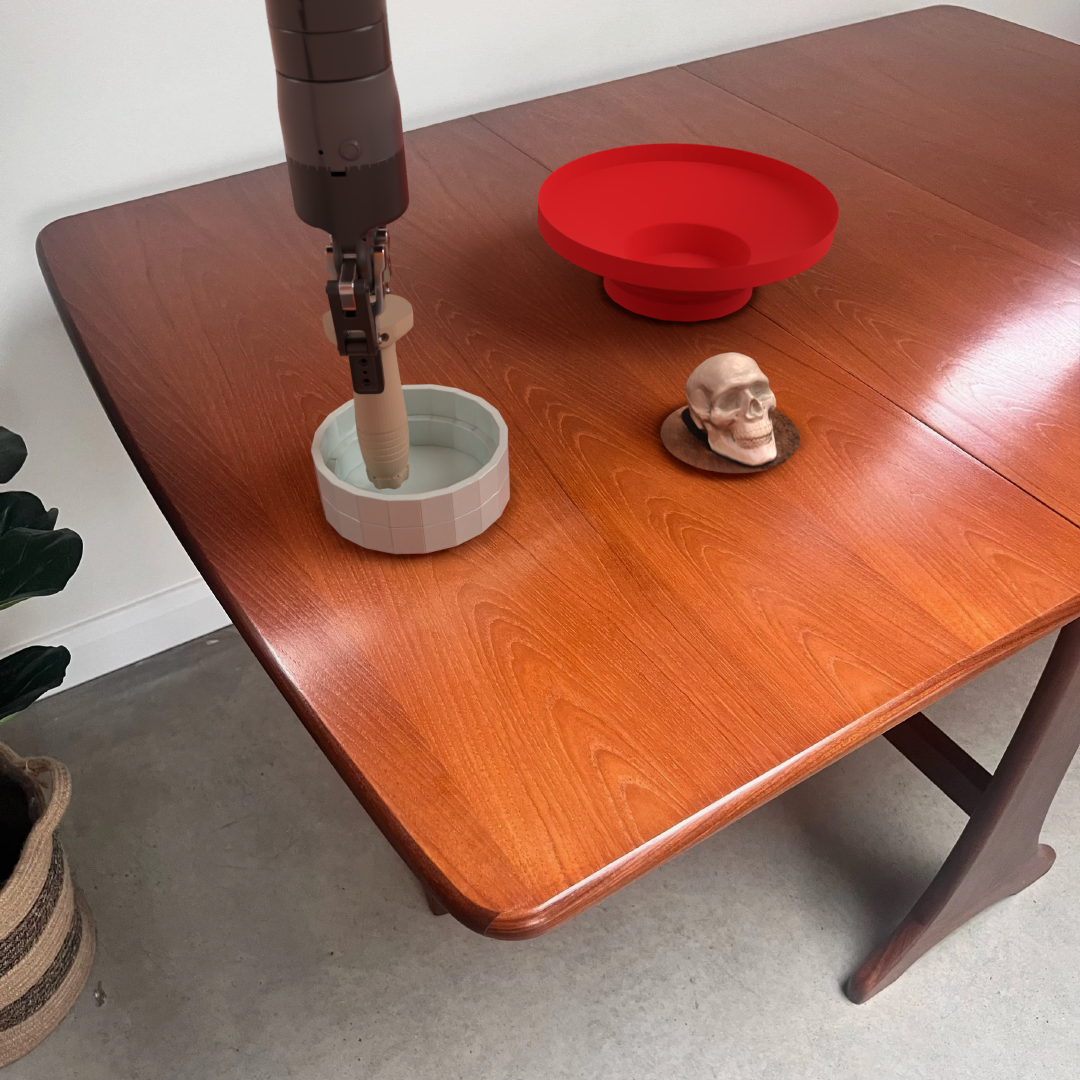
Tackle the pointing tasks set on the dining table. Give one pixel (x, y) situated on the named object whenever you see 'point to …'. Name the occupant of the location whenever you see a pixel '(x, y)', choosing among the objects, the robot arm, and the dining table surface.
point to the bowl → (686, 225)
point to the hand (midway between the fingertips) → (373, 367)
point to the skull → (730, 419)
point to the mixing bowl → (418, 474)
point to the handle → (384, 402)
